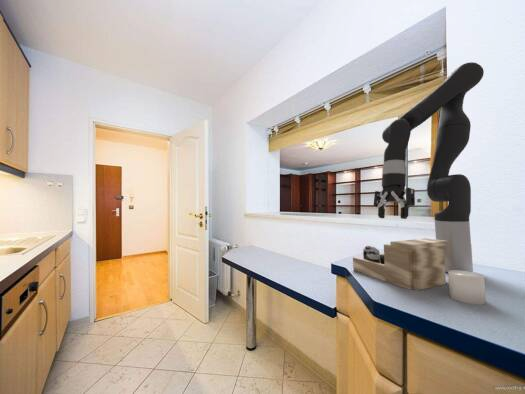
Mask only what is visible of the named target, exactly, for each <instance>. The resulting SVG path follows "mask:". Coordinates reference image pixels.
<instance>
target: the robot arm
mask: <svg viewBox="0 0 525 394" xmlns="http://www.w3.org/2000/svg"><path fill="white" fill-rule="evenodd" d="M484 72H485V71H484V68H483V67H482V66H481V64H479V63H477V62H473V61H471V62H465V63H463V64H461V65H459V66H458V67H456V68H455V69H454V70H453V71H452V72H451V73H450V74H449V75H448V76H447V77H446V78H445V79H444V80H443V82H442V83H441V84H440V86H438V87H437V88H436V89H434V90H433V91H432V92H431V93H429V94H428V95H427V96H425V97H423V98H422V99H420V101H418V102H417V103H416V104H414V105H413V106H411V108H410V109H408V110H407V111H406V112H404V114H403V115H402V116H401V117H400V118H397V119H395V120H393V121H392V122H391V123H390V124H389V125H388V126H386V128H385V129H384V130H383V132H382V135H381V138H382V140H383V142H384V143H386V144H387V146H386V148H385V149H384V153H383V165H382V171H381V172H382V174H381V187H382V190H381V191H379V190H375V191H374V199H373V207H376V208H378V210H377V215H378V218H379V219H385V217H386V215H385V214H386V209H385V208H386V206H387V205H388V204H389V203H395V202H396V203H399V205H400V206H401V207H400V219H402V220H403V219H404V220H406V219H407V218H408V217H409V208H410V207H414V206H415V205H416V204H415V203H416V197H415V193H416V192H415V189H414V188H411V187H407V188H406V184H407V163H406V162H407V159H406V158H407V149H408V145H409V141H410V138H411V133H412V131H413V130H414V129H416V128H418V127H419V126H421V125H422V124H423V123H424V122H426V121H427V120H428V119H430V118H431V117H432V116H433V115H434V114H436V113H437V112H438V111H440V113H439V119H438V128H437V131H436V132H437V133H436V139H435V149H434V156H433V161H432V164H431V165H432V166H431V168H430V173H429V175H428V176H429V177H428V180H427V185H426V193H427V196H428V198H429V199H430V201H432V202H437V203H442V202H443V203H444V202H448V204H447V206H446V207H445V208H444V209H442V210H439V211H436V212H435V213H434V215H433V216H434V231H435V233H434V234H435V239H436V240H445V241H448V245H444V260H445V273H448V271H450V270H461V271H469V272H474V264H473V252H472V251H473V250H472V241H471V240H472V239H471V225H470V215H471V212H472V203H471V201H472V191H471V190H472V189H471V183H470V181H469V179H468V177H467V176H466V175H464V174H461V173H460V174H459V173H457V174H450V170H451V167H452V165H453V164H454V162H455V161H456V160H457V159H458V157H459V156H460V155H461V153H462V152H463V151H464V149H465V148H466V147H467V145H468V144H469V141H470V133H471V127H472V126H471V121H470V118H469V117H468V116H467V114H466V112H465V111H464V108H463V106H464V105H463V104H464V99H465V96H466V94H467V93H468V92H469V91H470V90H472V89H473V88H475V86H477V85H478V84H479V83H480V82H481V80H482V79H483V77H484ZM405 195H406V197H404V196H405Z"/></svg>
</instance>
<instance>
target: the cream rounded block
mask: <svg viewBox="0 0 525 394" xmlns="http://www.w3.org/2000/svg"><path fill="white" fill-rule="evenodd" d="M447 273H448V274H447V275H448V289H449V293H448V294H449V297H450V298H451V299H453V300H455V301H457V302H461V303H464V304H468V303H469V304H470V305H475V304H476V306H477V305H479V306H481V305H486V304H487V303H486V302H487V301H486V298H487V297H486V284H485V276H484V275H483V274H481V273H477V272H474V271H473V272H469V271H461V270H450V271H448V272H447Z"/></svg>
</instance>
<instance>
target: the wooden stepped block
mask: <svg viewBox="0 0 525 394" xmlns="http://www.w3.org/2000/svg"><path fill="white" fill-rule="evenodd" d="M444 245H448V241H445V240H436V238H435V239H434V238H427V237H424V238H418V239H417V238H415V239H405V240H396V241H390V244H388V243H387V244H386V243H385V244H383V253H380V255H381V256H384V262H385V265H384V264H380V263H377V262H373V261H369V260H365V259H364V258H361V257H356V256H353V257H352V268H353V269H354V270H356V271H355V272H357V271H358V272H357V273H360V272H361V273H360V274H363V275H366V276H370V277H372V278H376V279H377V280H381V281H384V282H388V283H390V284H393V285H396V286H397V287H398V286H399V287H401V288H405V289H406V290H407V289H408V290H413V289H414V290H417V291H420V290H426V289H430V288H434V287H438V286H443V285H446V284H447V281H446V280H447V279H446V272H445V260H444ZM354 270H353V271H354Z"/></svg>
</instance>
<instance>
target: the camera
mask: <svg viewBox="0 0 525 394" xmlns="http://www.w3.org/2000/svg"><path fill="white" fill-rule="evenodd" d="M362 250H363V251H362V254H363V258H362V259H365V260H369V261H373V262H377V263H380V264H384V265H385V262H384V256H381V255H380V254H381V253H380V250H379V249H377V247H374V246H371V245H366V246H364V248H362Z"/></svg>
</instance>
